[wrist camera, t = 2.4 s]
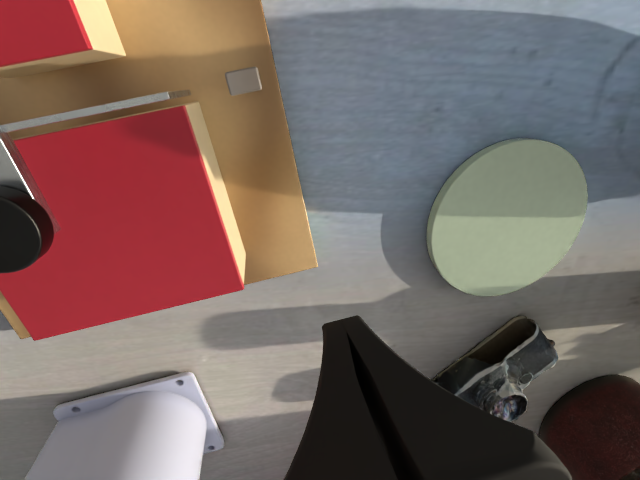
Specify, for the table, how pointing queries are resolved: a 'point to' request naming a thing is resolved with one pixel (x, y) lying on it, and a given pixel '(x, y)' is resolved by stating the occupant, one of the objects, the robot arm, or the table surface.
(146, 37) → the board
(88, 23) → the cake slice
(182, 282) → the red and beige block
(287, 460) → the table surface
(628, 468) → the vase
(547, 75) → the table surface
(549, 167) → the plate
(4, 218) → the blade
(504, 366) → the camera
